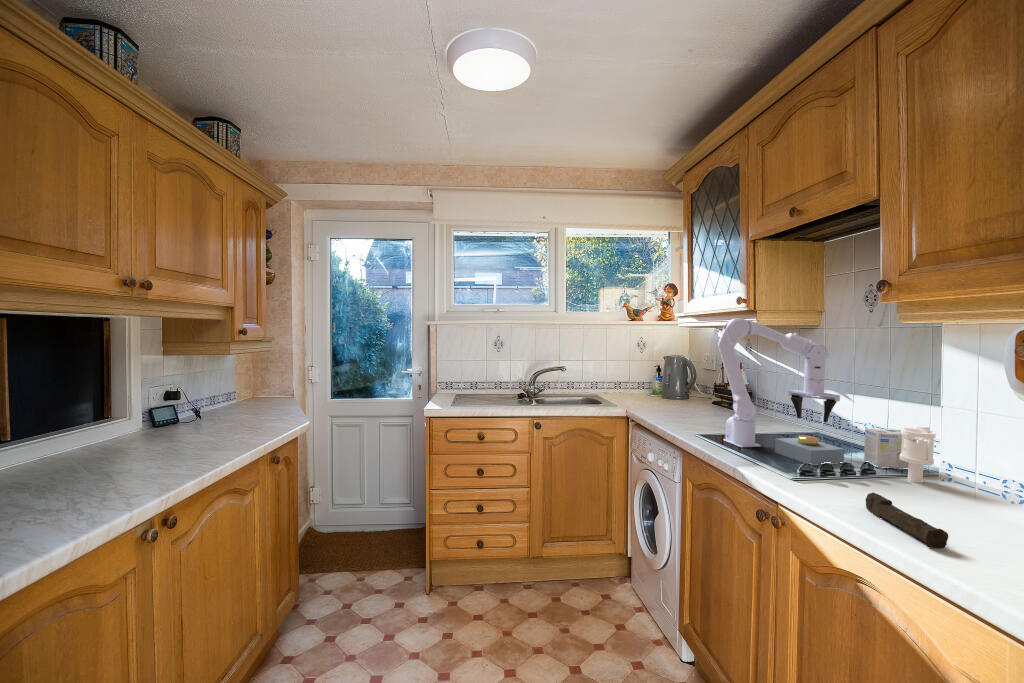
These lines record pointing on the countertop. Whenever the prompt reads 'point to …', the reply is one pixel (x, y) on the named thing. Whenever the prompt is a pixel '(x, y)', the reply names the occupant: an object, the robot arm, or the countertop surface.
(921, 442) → the strainer
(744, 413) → the robot arm
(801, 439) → the brass door knob
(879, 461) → the light bulb box
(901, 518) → the brown wooden log
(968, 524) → the countertop surface
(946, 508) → the countertop surface
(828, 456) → the block
